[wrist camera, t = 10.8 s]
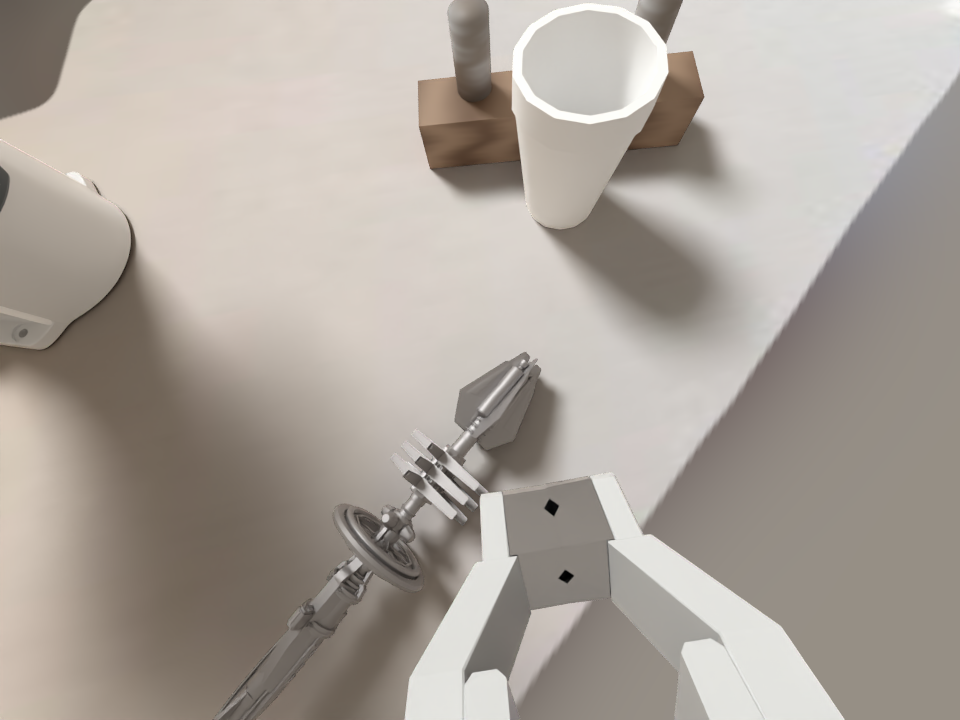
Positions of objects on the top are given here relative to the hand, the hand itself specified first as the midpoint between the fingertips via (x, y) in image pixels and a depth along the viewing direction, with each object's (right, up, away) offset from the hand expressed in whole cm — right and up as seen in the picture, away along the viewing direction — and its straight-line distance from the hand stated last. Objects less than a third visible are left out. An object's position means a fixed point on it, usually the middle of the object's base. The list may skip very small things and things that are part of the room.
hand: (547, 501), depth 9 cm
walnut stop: (+5, +25, +29) cm, 39 cm away
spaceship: (-8, -11, +21) cm, 25 cm away
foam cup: (+6, +18, +27) cm, 33 cm away
